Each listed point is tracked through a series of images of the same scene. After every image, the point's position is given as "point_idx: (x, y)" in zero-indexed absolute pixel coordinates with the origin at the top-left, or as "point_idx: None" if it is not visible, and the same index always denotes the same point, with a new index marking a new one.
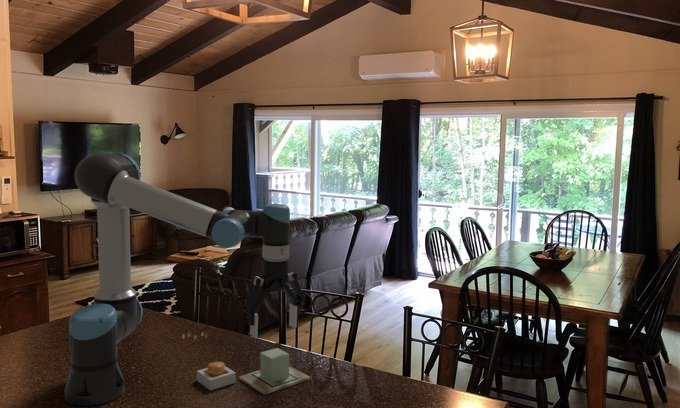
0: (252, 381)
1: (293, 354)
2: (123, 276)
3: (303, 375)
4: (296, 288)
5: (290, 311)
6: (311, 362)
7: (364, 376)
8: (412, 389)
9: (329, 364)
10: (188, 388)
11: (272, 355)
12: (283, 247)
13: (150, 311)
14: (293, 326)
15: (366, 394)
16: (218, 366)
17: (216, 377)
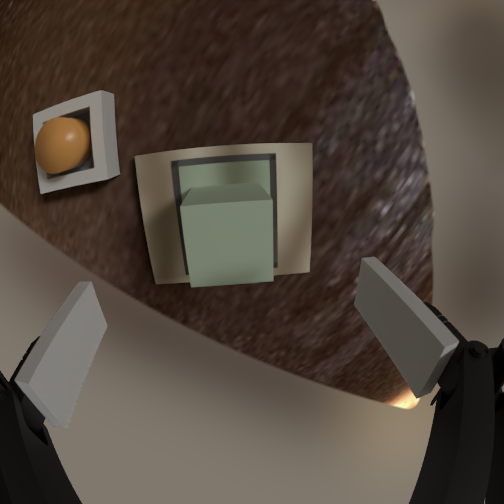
0: (154, 210)
1: (379, 93)
2: None
3: (301, 255)
4: (486, 493)
5: (409, 321)
6: (383, 174)
7: None
8: (398, 371)
9: (404, 215)
10: (26, 147)
11: (209, 260)
12: None
13: None
14: (357, 300)
15: (341, 364)
16: (55, 160)
17: (55, 184)
